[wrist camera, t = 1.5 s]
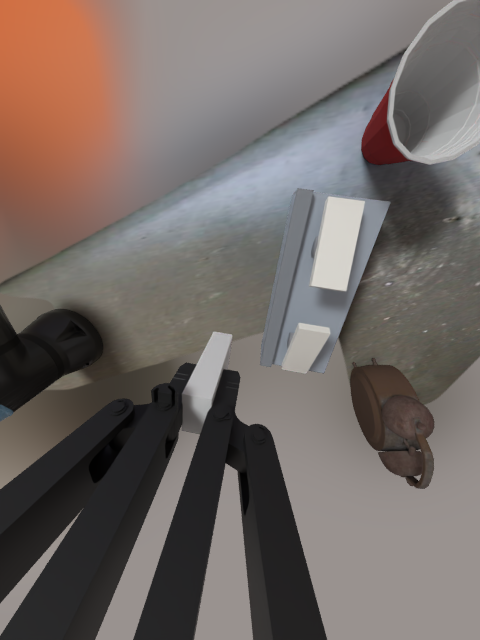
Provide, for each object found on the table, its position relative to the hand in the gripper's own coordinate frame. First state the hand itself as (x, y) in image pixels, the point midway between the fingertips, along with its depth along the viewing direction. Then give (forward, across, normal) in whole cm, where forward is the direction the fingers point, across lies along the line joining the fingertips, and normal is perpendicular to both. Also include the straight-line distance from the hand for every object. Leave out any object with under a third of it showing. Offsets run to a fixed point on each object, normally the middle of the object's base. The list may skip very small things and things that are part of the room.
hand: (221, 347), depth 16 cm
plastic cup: (+25, +16, +22) cm, 37 cm away
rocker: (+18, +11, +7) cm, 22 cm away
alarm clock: (+25, +28, -17) cm, 41 cm away
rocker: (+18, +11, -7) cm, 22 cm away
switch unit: (+24, +11, 0) cm, 27 cm away
